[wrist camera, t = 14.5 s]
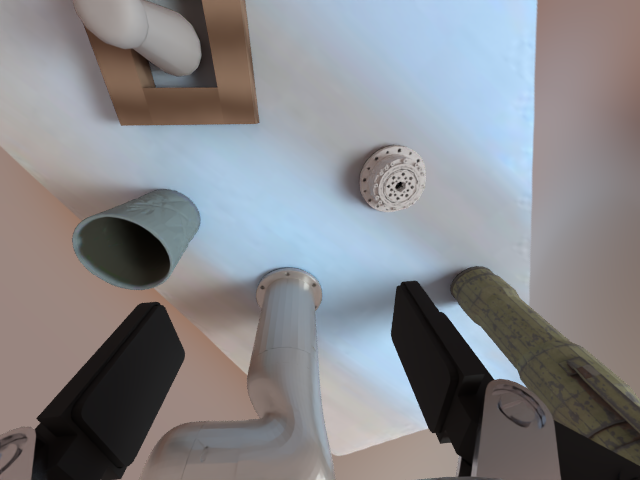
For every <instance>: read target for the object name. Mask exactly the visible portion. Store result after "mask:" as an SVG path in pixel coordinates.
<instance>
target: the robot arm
mask: <svg viewBox="0 0 640 480" xmlns="http://www.w3.org/2000/svg"><path fill="white" fill-rule="evenodd" d="M256 299H257V303H258V305H259V307H260V308H261V313H260V318H259V323H258V328H257V332H256V337H255V342H254V347H253V352H252V356H251V361H250V366H249V371H248V376H247V389H248V394H249V397H250V400H251V403H252V405H253V407H254V409H255V410H256V412H257V414H258V416H259V418H260V419H253V420H247V421H201V422H200V421H199V422H189V423H184V424H182V425H179V426H176V427H174V428H173V429H171V430H170V431H168V432H167V433H166V434H165V435H164V436H163V437H162V438H161V439H160V440H159V441H158V443H157V444H156V445H155V447H154V448H153V450H152V452H151V454H150V455H149V457H148V459H147V461H146V463H145V466H144V468H143V470H142V473H141V476H140V478H139V480H336V479H335V472H334V466H333V460H332V456H331V451H330V446H329V441H328V437H327V432H326V427H325V421H324V415H323V409H322V400H321V391H320V379H319V363H318V347H317V331H316V316H315V311H316V310H317V309H318V307H319V306H320V303H321V301H322V289H321V286H320V284H319V282H318V280H317V279H316V278H315V277H314V276H313V275H311V274H310V273H308V272H306V271H304V270H301V269H296V268H282V269H278V270H275V271H272V272H270V273H269V274H267V275H266V276H265V277H264V278H263V279H262V280H261V281H260V283H259V285H258V288H257V291H256ZM391 337H392V341H393V343H394V346H395V348H396V351H397V353H398V356H399V358H400V360H401V363H402V365H403V368H404V370H405V372H406V375H407V377H408V380H409V382H410V385H411V387H412V389H413V392H414V394H415V397H416V399H417V401H418V404H419V406H420V409H421V411H422V413H423V416H424V418H425V421H426V423H427V426H428V428H429V429H430V431H431V432H432V433H436V435H437V437H438V440H439V442H440V444H441V443H452V445H453V447H454V449H455V451H456V453H457V454H458V455H459V460H458V466H457V472H456V477H442V478H431V479H421V480H640V466H639V465H637V464H635V463H634V462H632V461H630V460H628V459H626V458H624V457H622V456H620V455H619V454H617V453H615V452H613V451H611V450H609V449H607V448H605V447H604V446H602V445H600V444H598V443H596V442H594V441H592V440H591V439H589V438H587V437H585V436H583V435H581V434H579V433H577V432H576V431H574V430H572V429H570V428H568V427H566V426H564V425H563V424H561V423H559V422H557V421H555V420H553V417H552V414H551V413H550V411H549V409H548V408H547V406H546V405H545V404H544V403H543V401H542V400H541V399H540V398H539V397H538V396H537V395H535V394H534V393H533V392H531V391H530V390H529V389H527V388H526V387H524V386H522V385H520V384H518V383H516V382H513V381H510V380H505V379H497V380H494V379H493V377H492V376H491V375H490V373H489V372H488V371H487V369H486V368H485V367H484V365H483V364H482V363H481V361H480V360H479V359H478V357H477V356H476V355H475V353H474V352H473V351H472V349H471V348H470V347H469V345H468V344H467V343H466V341H465V340H464V339H463V337H462V336H461V335H460V333H459V332H458V331H457V329H456V328H455V326H454V325H453V324H452V322H451V321H450V320H449V318H448V317H447V316H446V315H445V314H444V313H442V312H439V310H438V309H437V308H436V306H435V305H434V303H433V302H432V301H431V299H430V298H429V297H428V295H427V294H426V292H425V291H424V290H423V288H422V287H421V286H420V284H419V283H418V282H417V281H406V282H402V283H401V285H400V286H397V289H396V297H395V305H394V313H393V321H392V329H391ZM184 357H185V352H184V349H183V347H182V344H181V342H180V340H179V338H178V336H177V333H176V331H175V329H174V327H173V324H172V322H171V320H170V318H169V315H168V313H167V311H166V309H165V307H164V306H163V305H160V303H158V302H150V303H141V304H139V305H138V306H137V307H136V308H135V309H134V310H133V311H132V312H131V313H130V315H129V316H128V317H127V318H126V319H125V320H124V321H123V322H122V324H121V325H120V326H119V327H118V328H117V329H116V330H115V331H114V332H113V334H112V335H111V336H110V337H109V338H108V339H107V340H106V341H105V342H104V344H103V345H102V346H101V347H100V348H99V349H98V350H97V351H96V353H95V354H94V355H93V356H92V357H91V358H90V359H89V360H88V361H87V363H86V364H85V365H84V366H83V367H82V368H81V369H80V370H79V371H78V373H77V374H76V375H75V376H74V377H73V378H72V380H70V382H69V383H68V384H67V385H66V386H65V387H64V388H63V389H62V390H61V392H60V393H59V394H58V395H57V396H56V397H55V398H54V399H53V401H52V402H51V403H50V404H49V405H48V406H47V407H46V408H45V409H44V411H43V412H42V413H41V414H40V415H39V416H38V417H37V419H38V421H39V422H40V424H39V425H38V426H37V428H36V429H33V428H31V427H20V428H16V429H13V430H11V431H8V432H7V433H4V434H2V435H0V480H116V479H121V478H122V476H123V474H124V472H125V470H126V468H127V466H129V465H130V464H131V463H132V462H133V461H134V459H135V457H136V456H137V454H138V451H139V450H140V448H141V446H142V444H143V442H144V439H145V438H146V435H147V433H148V431H149V429H150V427H151V425H152V423H153V421H154V419H155V417H156V415H157V413H158V411H159V409H160V407H161V405H162V403H163V401H164V399H165V397H166V395H167V393H168V391H169V389H170V387H171V385H172V383H173V381H174V379H175V377H176V375H177V373H178V371H179V369H180V367H181V365H182V363H183V361H184ZM419 480H420V479H419Z"/></svg>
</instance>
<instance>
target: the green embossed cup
mask: <svg viewBox="0 0 640 480" xmlns="http://www.w3.org/2000/svg"><path fill="white" fill-rule="evenodd" d="M199 226H200V214H199V211H198V209H197V207H196V206H195V204H194V203H193V202H192V201H191V200H190V199H189V198H188V197H186V196H185V195H183V194H181V193H179V192H177V191H172V190H167V189H165V190H156V191H153V192H150V193H148V194H146V195H144V196H142V197H139V198H138V199H134V200H131V201H129V202H127V203H125V204H122V205H120V206H116V207H114V208H112V209H109V210H106V211H104V212H101V213H98V214H96V215H93V216H90V217H88V218H86V219H84V220H83V221H82V222H80V223H79V224H78V225H77V227H76V228H75V231H74V233H73V238H72V242H73V248H74V251H75V253H76V255H77V257H78V259H79V260H80V262H81V263H82V264H83V265H84V266H85V267H86V269H87V270H89V271H90V272H91V273H92V274H94V275H96V276H97V277H99V278H100V279H102V280H104V281H106V282H107V283H109V284H111V285H114V286H117V287H120V288H125V289H130V290H145V289H150V288H154V287H156V286H158V285H160V284H162V283H164V282H165V281H166V280H167V279H168V278H169V277H170V275H171V273H172V272H173V270H174V268H175V267H176V265H177V263H178V261H179V260H180V258H181V256H182V254H183V252H185V250H186V248H187V247H188V243H189V242H190V241H191V240H192V239H193V237H194V235H195V234H196V232H197V231H198V229H199Z"/></svg>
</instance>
